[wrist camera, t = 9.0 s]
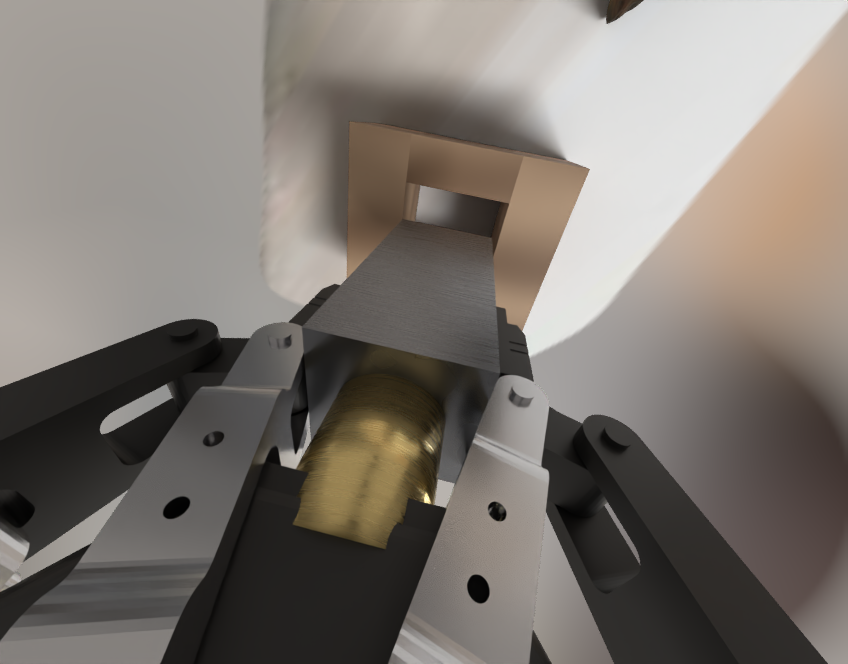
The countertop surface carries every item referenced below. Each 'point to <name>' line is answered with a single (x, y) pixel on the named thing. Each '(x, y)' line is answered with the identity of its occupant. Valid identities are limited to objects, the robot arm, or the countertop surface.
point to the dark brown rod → (620, 8)
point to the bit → (397, 379)
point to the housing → (472, 175)
